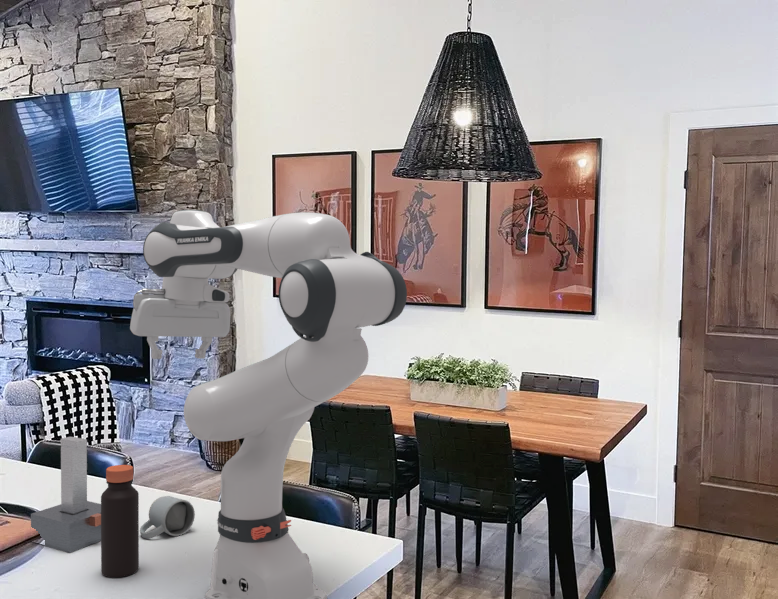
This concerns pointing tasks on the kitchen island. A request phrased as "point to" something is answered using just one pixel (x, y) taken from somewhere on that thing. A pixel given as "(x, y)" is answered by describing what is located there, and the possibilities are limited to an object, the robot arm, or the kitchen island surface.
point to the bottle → (119, 523)
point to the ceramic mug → (169, 517)
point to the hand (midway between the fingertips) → (178, 358)
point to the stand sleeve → (68, 527)
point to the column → (73, 475)
